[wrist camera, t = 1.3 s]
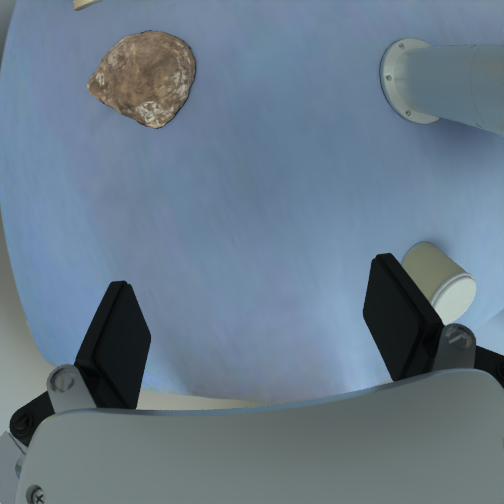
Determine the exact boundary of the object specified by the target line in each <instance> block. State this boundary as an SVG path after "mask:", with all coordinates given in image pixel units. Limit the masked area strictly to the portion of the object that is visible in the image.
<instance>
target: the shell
mask: <svg viewBox="0 0 504 504" xmlns="http://www.w3.org/2000/svg"><path fill="white" fill-rule="evenodd" d="M190 49H191V48H190V47H189V46H188V45H187V44H186V43H185V42H184V41H182V40H181V39H179V38H177V37H175V36H172V35H170V34H167V33H164V32H158V31H145V32H142V33H141V34H133V35H130V36H126V37H124V38H123V39H121V40H120V41H119V42H118V43H116V44H115V45H114V46H113V47H112V48H111V49H110V51H109V52H108V53H107V54H106V55H105V56H104V57H103V59H102V61H101V64H100V66H99V68H98V69H97V70H96V71H95V73H94V74H93V75H92V76H91V78H90V79H89V83H88V85H87V89H88V92H89V93H90V94H91V95H93V96H94V97H95V98H97V99H98V100H100V101H101V102H103V103H104V104H106V105H108V106H110V107H112V108H113V109H114V110H116V111H118V112H119V113H120V114H122V115H125V116H128V117H130V118H133V119H134V120H136V121H137V122H139V123H140V124H142V125H145V126H148V127H152V128H155V129H158V128H161V127H162V126H164V125H165V124H167V123H168V122H169V121H171V120H172V119H173V118H174V117H175V115H176V114H177V112H178V111H179V110H180V109H181V107H182V106H183V105H184V103H185V102H186V100H187V97H188V92H189V88H190V86H191V84H192V82H193V81H194V76H195V59H194V57H193V54H192V52H191V51H190Z"/></svg>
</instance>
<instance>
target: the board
mask: <svg viewBox="0 0 504 504" xmlns="http://www.w3.org/2000/svg"><path fill="white" fill-rule="evenodd" d="M73 1H74V10H77V11H78V10H80V9H82V8H85V7H87V6H89V5H91V4H94V3H96V2H98V1H101V0H73Z"/></svg>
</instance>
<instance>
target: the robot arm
mask: <svg viewBox="0 0 504 504" xmlns="http://www.w3.org/2000/svg"><path fill="white" fill-rule="evenodd" d="M380 77H381V84H382V88H383V91H384V93H385V96H386V98H387V100H388V101H389V103H390V105H391V106H392V107H393V109H394V110H395V111H396V112H397V113H398V114H399V115H401V116H402V117H404V118H405V119H407V120H409V121H412V122H415V123H419V124H429V123H433V122H435V121H437V120H439V119H440V118H444V119H448V120H452V121H456V122H460V123H463V124H467V125H470V126H473V127H477V128H480V129H483V130H486V131H489V132H492V133H495V134H498V135H501V136H504V45H449V46H434V47H432V46H431V45H430V44H428V43H426V42H424V41H422V40H419V39H412V38H408V39H402V40H399V41H396V42H395V43H393V44H392V45H391V46H390V47H389V48H388V49H387V50H386V52H385V54H384V55H383V58H382V62H381V68H380ZM386 77H387V80H386ZM363 317H364V320H365V322H366V324H367V326H368V328H369V330H370V332H371V334H372V337H373V339H374V341H375V343H376V345H377V347H378V349H379V351H380V354H381V356H382V358H383V360H384V362H385V365H386V367H387V369H388V371H389V374H390V376H391V378H392V380H393V381H394V382H391V383H388V384H384V385H380V386H375V387H371V388H367V389H363V390H358V391H354V392H349V393H344V394H339V395H334V396H328V397H323V398H317V399H311V400H305V401H298V402H291V403H283V404H275V405H267V406H257V407H245V408H232V409H214V410H136V407H137V402H138V398H139V393H140V388H141V383H142V378H143V374H144V369H145V365H146V360H147V356H148V351H149V347H150V343H151V334H150V331H149V329H148V326H147V324H146V321H145V319H144V317H143V314H142V312H141V309H140V307H139V304H138V301H137V299H136V296H135V294H134V291H133V288H132V286H131V285H130V284H127V282H126V281H114V282H111V283H110V285H109V287H108V289H107V291H106V293H105V295H104V297H103V299H102V301H101V303H100V305H99V307H98V309H97V311H96V313H95V315H94V318H93V320H92V322H91V324H90V326H89V329H88V331H87V333H86V335H85V338H84V340H83V342H82V344H81V347H80V349H79V352H78V354H77V356H76V360H75V363H74V365H70V364H64V365H61V366H58V367H57V368H55V369H54V370H53V371H52V372H51V373H50V375H49V377H48V379H47V383H46V385H47V391H46V392H44V393H43V394H41V395H40V396H38V397H37V398H35V399H34V400H32V401H31V402H29V403H28V404H26V405H25V406H23V407H21V408H20V409H18V410H17V411H16V412H15V413H14V414H13V416H12V418H11V420H10V426H9V427H10V432H9V433H8V432H7V431H5V432H4V434H3V435H2V436H1V437H0V502H1V503H2V504H504V356H503V355H500V354H498V353H495V352H493V351H490V350H487V349H485V348H482V347H479V346H477V345H476V338H475V336H474V334H473V332H472V331H471V330H470V329H469V328H467V327H466V326H464V325H462V324H457V323H453V324H449V325H446V326H445V325H444V324H443V322H442V319H441V318H440V316H439V315H438V313H437V312H436V311H435V309H434V308H433V306H432V305H431V304H430V302H429V301H428V300H427V298H426V297H425V296H424V294H423V293H422V292H421V290H420V289H419V288H418V286H417V285H416V284H415V282H414V281H413V280H412V278H411V277H410V276H409V275H408V273H407V272H406V271H405V269H404V268H403V267H402V266H401V264H400V263H399V262H398V261H397V260H396V258H395V257H394V256H393V255H392V254H391V253H386V254H378V255H376V258H375V259H373V260H372V263H371V269H370V275H369V281H368V286H367V292H366V297H365V303H364V308H363Z"/></svg>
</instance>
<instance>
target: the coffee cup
mask: <svg viewBox="0 0 504 504" xmlns="http://www.w3.org/2000/svg"><path fill="white" fill-rule="evenodd" d="M401 266H402V267H403V268H404V269H405V271H406V272H407V273H408V275H409V276H410V277H411V278H412V280H413V281H414V282H415V284H416V285H417V286H418V288H419V289H420V290H421V292H422V293H423V294H424V296H425V297H426V298H427V300H428V301H429V302H430V304H431V305H432V306H433V308H434V309H435V311H436V312H437V313H438V315H439V316H440V318H441V319H442V322H443V324H444V325H446V324H449V323H451V322H453V321H455V320H456V319H458V318H459V317H460V316H461V315H462V314H463V313H464V312H465V311H466V310H467V309H468V307H469V306H470V305H471V303H472V301H473V299H474V297H475V293H476V283H475V280H474V278H473V276H472V275H471V274H469V273H467V272H466V271H465V270H464V269H463V268H461V267H460V266H459V265H458V264H457V263H455V262H454V261H453V260H452V259H450V258H449V257H448V256H447V255H445V254H444V253H443V252H442V251H440V250H439V249H438V248H436V247H435V246H434V245H432V244H431V243H428V242H421V243H418V244H416V245H414V246H413V247H412V248H411V249H410V250H409V251H408V252H407V253H406V255H405V256H404V258H403V261H402V265H401Z"/></svg>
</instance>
